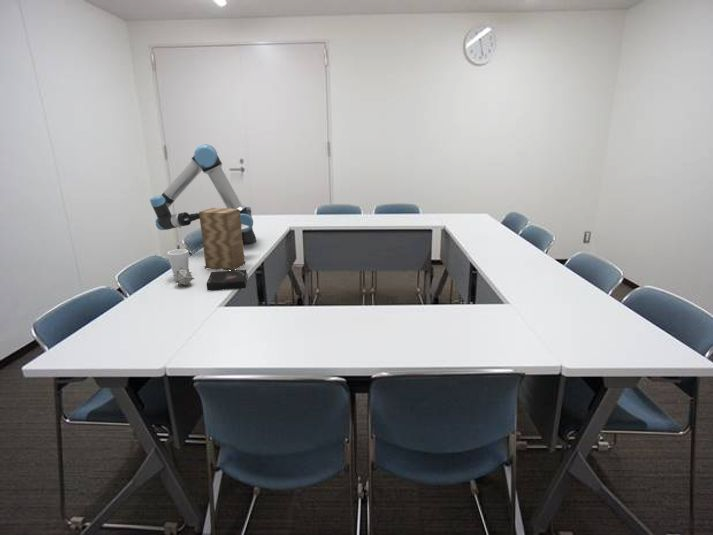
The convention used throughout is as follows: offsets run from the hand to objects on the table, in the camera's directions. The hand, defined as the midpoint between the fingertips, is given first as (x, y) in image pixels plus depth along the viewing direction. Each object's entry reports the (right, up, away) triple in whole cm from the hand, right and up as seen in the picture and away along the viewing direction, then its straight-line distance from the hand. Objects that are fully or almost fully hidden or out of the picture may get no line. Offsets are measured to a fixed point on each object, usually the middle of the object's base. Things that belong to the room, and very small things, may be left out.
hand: (216, 212), depth 223 cm
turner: (+5, -6, +1) cm, 8 cm away
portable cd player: (+17, -39, -33) cm, 54 cm away
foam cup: (-8, -36, -25) cm, 45 cm away
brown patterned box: (+8, -30, -9) cm, 32 cm away
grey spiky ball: (-2, -40, -36) cm, 53 cm away
